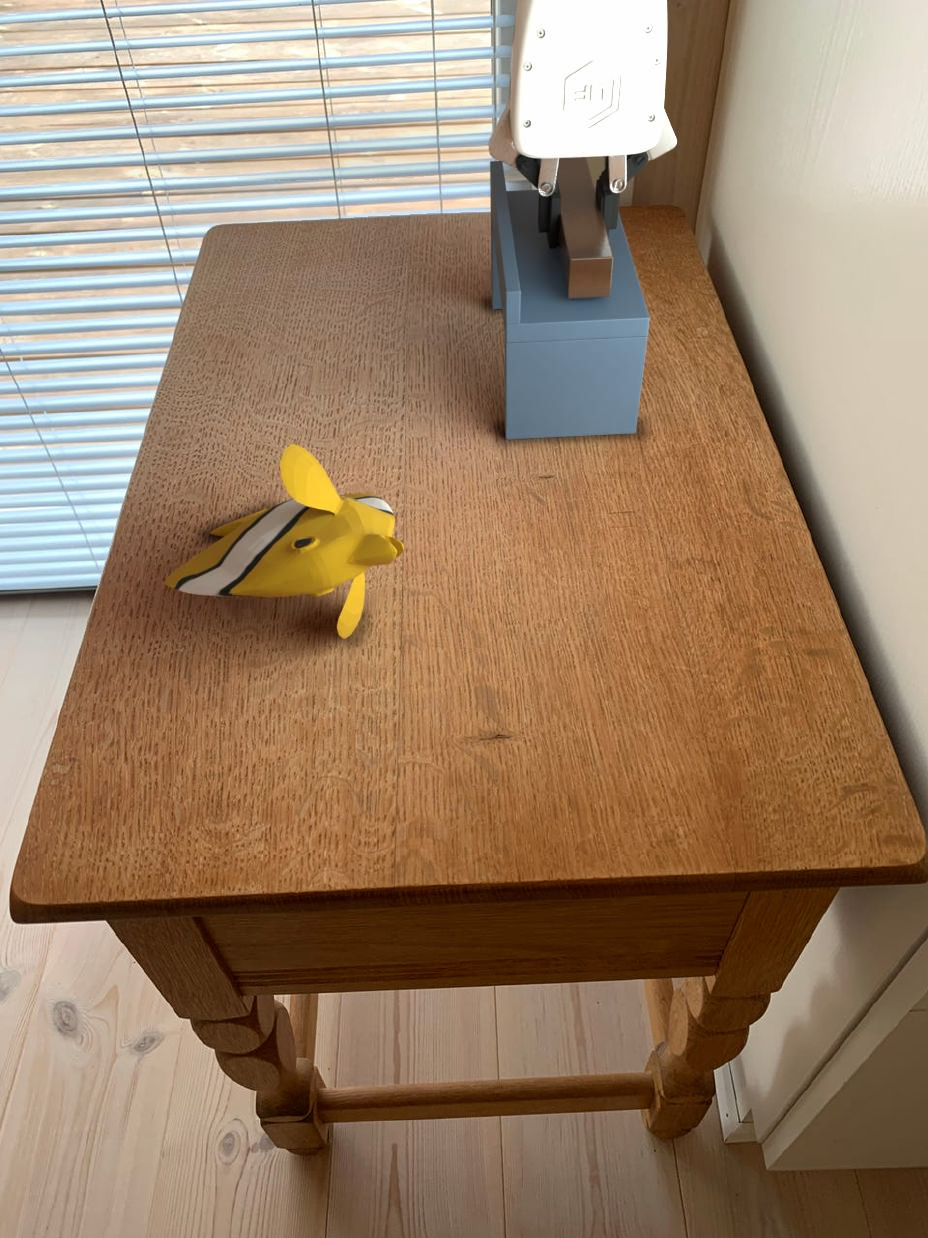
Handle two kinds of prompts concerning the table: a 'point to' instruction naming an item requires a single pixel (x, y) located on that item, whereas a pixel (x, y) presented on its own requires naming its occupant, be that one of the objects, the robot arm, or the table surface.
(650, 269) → the table surface
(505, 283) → the blue stepped block
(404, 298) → the table surface
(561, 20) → the robot arm
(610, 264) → the stick
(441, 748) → the table surface
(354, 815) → the table surface
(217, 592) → the fish
